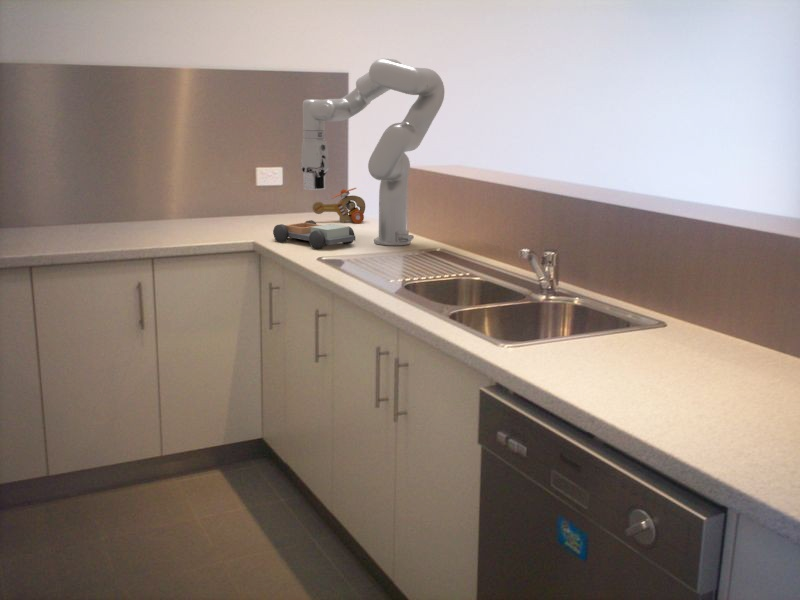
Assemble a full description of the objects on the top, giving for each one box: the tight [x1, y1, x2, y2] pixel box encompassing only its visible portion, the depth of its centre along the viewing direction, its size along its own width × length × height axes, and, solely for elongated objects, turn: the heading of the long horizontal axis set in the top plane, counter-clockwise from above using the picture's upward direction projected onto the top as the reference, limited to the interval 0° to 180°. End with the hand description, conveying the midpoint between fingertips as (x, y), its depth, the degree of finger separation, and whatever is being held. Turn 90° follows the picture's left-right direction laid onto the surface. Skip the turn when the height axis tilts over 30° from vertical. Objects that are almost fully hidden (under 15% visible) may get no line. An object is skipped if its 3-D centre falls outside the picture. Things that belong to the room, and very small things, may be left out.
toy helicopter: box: [311, 187, 366, 224], centre depth 345 cm, size 8×21×14 cm, turn 101°
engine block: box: [302, 169, 327, 191], centre depth 311 cm, size 5×6×6 cm
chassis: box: [272, 219, 356, 250], centre depth 299 cm, size 28×15×6 cm, turn 48°
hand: (314, 187), depth 312 cm, fingers closed on engine block, 5 cm apart
